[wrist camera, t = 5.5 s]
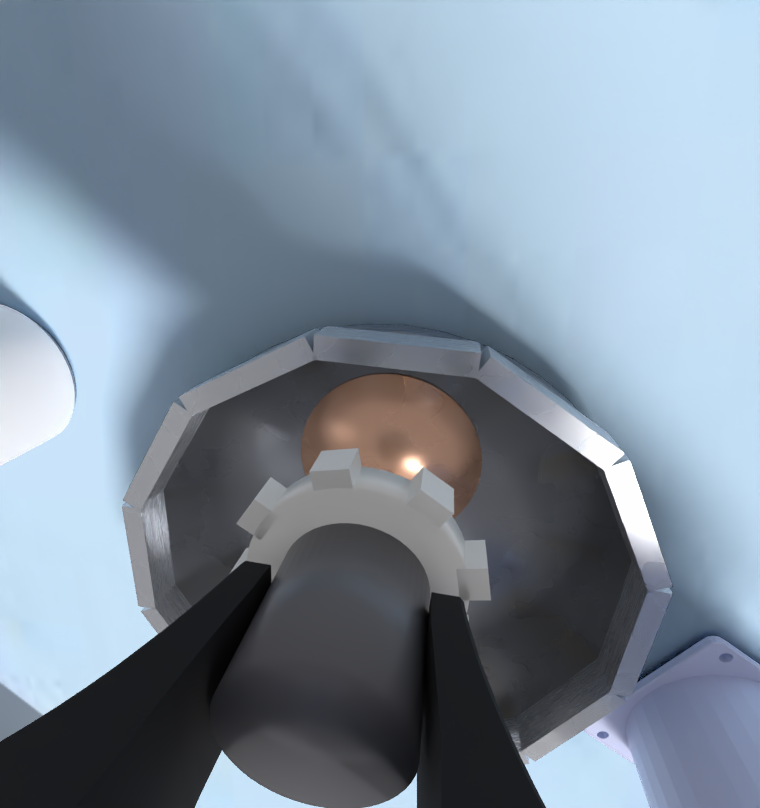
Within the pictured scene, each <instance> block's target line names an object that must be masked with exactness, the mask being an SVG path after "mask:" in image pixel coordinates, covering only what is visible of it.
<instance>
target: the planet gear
mask: <svg viewBox="0 0 760 808" xmlns="http://www.w3.org/2000/svg"><path fill="white" fill-rule="evenodd" d="M309 473H310V474H309V475H307V476H304V477H303V478H301V479H299V480H298V481H296V482H294V483H293V484H292V485H290V486H289V487H288V488H286V487H284V486H283V485H282V484H280V483H279V482H277V481H276V480H274V479H273V478H272V477H270V479H269V480H268V481H267V483H266V484H265V485H264V487H263V488H262V489H261V491H260V492H259V493H258V495H257V496H256V497H255V499H254V500H253V501H252V503H251V504H250V505H249V507H248V508H247V509H246V511H245V512H244V514H243V515H242V516H241V518H240V519H239V520H238V522H237V523H236V524H237V525H239V526H240V527H242V528H243V529H245V530H246V531H248V532H249V533H251V534H252V535H253V537H252V540H251V542H250V546H249V548H246V549H245V551H244V552H243V554H242V555H241V557H240V558H239V560H238V561H237V563H236V564H235V566H234V567H233V569H232V570H231V572H232V571H233V570H235V569H236V568H237V567H238V566H239V565H240V564H242V563H243V562H244V561H251V562H257V563H263V564H268V565H271V585H270V587H269V589H268V591H267V592H266V594H265V596H264V598H263V600H262V602H261V604H260V606H259V608H258V610H257V612H256V614H255V616H254V618H253V619H252V621H251V623H250V625H249V627H248V629H247V631H246V633H245V635H244V637H243V639H242V641H241V643H240V645H239V646H238V648H237V650H236V652H235V654H234V656H233V658H232V660H231V662H230V664H229V666H228V668H227V670H226V672H225V674H224V675H223V677H222V679H221V681H220V683H219V685H218V687H217V689H216V691H215V693H214V695H213V697H212V700H211V705H210V723H211V727H212V730H213V733H214V736H215V738H216V740H217V742H218V744H219V746H220V747H221V749H222V750H223V752H224V753H225V754H226V755H227V757H228V758H229V759H230V760H231V761H232V762H233V763H234V764H235V765H236V766H237V767H238V768H239V769H240V770H241V771H242V772H243V773H245V774H246V775H247V776H248V777H250V778H251V779H253V780H254V781H256V782H257V783H259V784H260V785H262V786H264V787H265V788H267V789H269V790H271V791H273V792H275V793H277V794H279V795H281V796H284V797H287V798H289V799H292V800H295V801H298V802H301V803H305V804H309V805H313V806H318V807H325V808H363V807H369V806H373V805H377V804H380V803H383V802H385V801H388V800H390V799H392V798H394V797H395V796H397V795H399V794H400V793H401V792H402V791H404V790H405V789H406V788H407V787H408V786H409V784H410V783H411V782H412V780H413V779H414V777H415V775H416V773H417V770H418V767H419V760H420V747H421V731H422V716H423V700H424V684H425V667H426V643H427V627H428V613H429V606H430V599H431V593H432V592H434V593H440V594H446V595H452V596H458V597H460V598H461V599H462V600H463V601H464V604H465V609H466V613H467V610H468V605H469V601H476V600H491V594H490V584H489V573H488V563H487V553H486V544H485V540H466V541H464V538H463V535H462V532H461V530H460V528H459V527H458V525H457V523H456V521H455V519H454V518H453V517H452V515H453V514H454V489H453V488H452V487H450V486H449V485H448V484H446V483H445V482H444V481H442V480H441V479H440V478H438V477H437V476H435V475H434V474H433V473H431V472H430V471H429V470H427V469H426V468H424V467H423V468H422V469H421V470H420V471H419V472H418V473H417V474H416V475H415V477H414V478H413V479H412V480H411V481H410V480H408V479H406V478H404V477H402V476H399V475H396V474H394V473H391V472H388V471H384V470H380V469H375V468H369V467H362V465H361V460H360V455H359V449H358V448H352V449H339V450H326V451H321V453H320V454H319V456H318V458H317V459H316V461H315V463H314V464H313V466H312V468H311V469H310V471H309ZM231 572H230V573H231ZM467 618H468V621H469V615H467Z"/></svg>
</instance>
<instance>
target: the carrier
mask: <svg viewBox="0 0 760 808" xmlns="http://www.w3.org/2000/svg"><path fill="white" fill-rule="evenodd" d="M352 448H358V449H359V455H360V460H361V465H362V467H369V468H375V469H380V470H384V471H388V472H391V473H394V474H396V475H399V476H402V477H404V478H406V479H408V480H410V481H411V480H412V479H413V478H414V477H415V475H416V474H417V473H418V472H419V471H420V470H421V469H422V468H423V467H424V468H426V469H427V470H429V471H430V472H431V473H433V474H434V475H435V476H437V477H438V478H440V479H441V480H442V481H444V482H445V483H446V484H448V485H449V486H450V487H452V488H453V489H454V514H453V515H452V517H453V518H454V519H455V521H456V523H457V525H458V527H459V528H460V530H461V532H462V535H463V538H464V541H466V540H485V544H486V553H487V563H488V573H489V584H490V594H491V600H476V601H469V605H468V610H467V613H466V614H467V615H469V625H470V629H471V632H472V635H473V639H474V642H475V645H476V648H477V651H478V654H479V657H480V660H481V663H482V665H483V668H484V671H485V673H486V676H487V679H488V681H489V684H490V686H491V689H492V691H493V694H494V697H495V699H496V702H497V704H498V707H499V709H500V711H501V714H502V716H503V719H504V721H505V723H506V726H507V728H508V730H509V732H510V734H511V737H512V739H513V741H514V743H515V746H516V748H517V750H518V752H519V754H520V757H521V759H522V761H523V763H524V764H528V763H529V759H528V757H529V758H531V759H532V760H534V761H536V760H538V759H540V758H541V757H543V756H544V755H546V754H547V753H549V752H550V751H552V750H553V749H555V748H557V747H558V746H560V745H561V744H563V743H564V742H566V741H567V740H569V739H570V738H572V737H574V736H575V735H577V734H578V733H580V732H581V731H583V730H584V729H586V728H587V727H589V726H591V725H592V724H594V723H595V722H597V721H598V720H600V719H601V718H603V717H604V716H606V715H608V714H609V713H611V712H612V711H614V710H615V709H617V708H618V707H620V706H621V705H623V704H625V703H626V699H625V696H627V697H631V696H632V693H633V691H634V688H635V686H636V683H637V681H638V679H639V676H640V674H641V671H642V669H643V666H644V664H645V661H646V659H647V656H648V654H649V651H650V649H651V646H652V644H653V642H654V639H655V637H656V634H657V632H658V629H659V627H660V624H661V622H662V619H663V617H664V614H665V612H666V609H667V607H668V604H669V602H670V600H671V597H672V595H673V593H672V592H671V590H670V588H669V587H673V585H672V582H671V579H670V576H669V573H668V570H667V567H666V564H665V561H664V559H663V556H662V553H661V550H660V547H659V544H658V541H657V538H656V535H655V532H654V529H653V526H652V524H651V521H650V518H649V515H648V512H647V509H646V506H645V503H644V500H643V497H642V494H641V491H640V488H639V486H638V483H637V480H636V477H635V474H634V471H633V468H632V465H631V462H630V460H629V459H628V457H627V456H626V455H625V454H624V452H623V451H622V450H621V448H620V447H619V446H618V444H617V443H616V442H615V441H614V439H613V438H612V437H611V435H610V434H609V433H608V432H606V431H605V430H604V429H602V428H601V427H599V426H598V425H597V424H595V423H594V422H593V421H591V420H590V419H588V418H587V417H586V416H584V415H583V414H582V413H580V412H579V411H578V410H577V409H576V408H575V407H574V406H573V405H572V403H571V402H570V401H569V400H568V399H567V398H566V397H565V396H563V395H562V394H561V393H560V392H559V391H557V390H556V389H555V388H554V387H553V386H551V385H550V384H549V383H548V382H547V381H546V380H544V379H543V378H542V377H541V376H539V375H538V374H536V373H534V372H533V371H531V370H530V369H528V368H526V367H525V366H523V365H522V364H520V363H518V362H517V361H515V360H514V359H512V358H511V357H508V356H506V355H504V354H502V353H500V352H497V351H495V350H494V349H492V348H491V347H489V346H488V345H487V346H484V345H482V344H480V343H479V342H476V341H472V340H468V339H465V338H462V337H459V336H455V335H452V334H449V333H446V332H442V331H437V330H431V329H425V328H419V327H413V326H407V325H387V324H362V325H352V326H342V327H332V326H325V327H324V328H323V329H321V330H320V331H319V329H318V327H317V328H315V329H313V330H311V331H309V332H307V333H305V334H303V335H300V336H298V337H295V338H293V339H290V340H288V341H285V342H283V343H280V344H278V345H275V346H273V347H271V348H269V349H267V350H265V351H264V352H262V353H260V354H258V355H257V356H255V357H253V358H251V359H250V360H248V361H246V362H244V363H242V364H240V365H238V366H236V367H234V368H231V369H229V370H227V371H225V372H223V373H221V374H219V375H217V376H215V377H213V378H211V379H208V380H206V381H204V382H202V383H200V384H199V385H197V386H195V387H194V388H192V389H190V390H189V391H187V392H185V393H184V394H182V395H180V396H179V398H178V399H177V400H175V401H174V402H173V403H172V405H171V407H170V409H169V411H168V413H167V415H166V417H165V419H164V421H163V423H162V425H161V426H160V428H159V430H158V432H157V434H156V436H155V438H154V440H153V442H152V444H151V446H150V448H149V450H148V452H147V454H146V456H145V458H144V460H143V462H142V463H141V465H140V467H139V469H138V471H137V473H136V475H135V477H134V479H133V481H132V483H131V485H130V487H129V489H128V491H127V493H126V495H125V497H124V499H123V501H125V502H126V503H125V504H124V505H123V506H122V510H123V516H124V522H125V528H126V534H127V540H128V546H129V552H130V558H131V564H132V570H133V576H134V582H135V588H136V594H137V600H138V606H141V607H144V609H143V610H142V611H141V612H142V613H143V615H144V616H145V617H146V619H147V620H148V621H149V622H150V624H151V625H152V626H153V628H154V629H155V630H156V632H157V633H158V634H159V633H160V632H161V631H163V630H164V629H165V628H166V627H168V626H169V625H170V624H171V623H172V622H174V621H175V620H176V619H177V618H179V617H180V616H181V615H182V614H183V613H185V612H186V611H187V610H188V609H189V608H191V607H192V606H193V605H194V604H195V603H197V602H198V601H199V600H200V599H201V598H202V597H204V596H205V595H206V594H207V593H208V592H209V591H211V590H212V589H213V588H214V587H215V586H216V585H217V584H219V583H220V582H221V581H222V580H223V579H224V578H225V577H227V576H228V575H229V574H230V572H231V570H232V569H233V567H234V566H235V564H236V563H237V561H238V560H239V558H240V557H241V555H242V554H243V552H244V551H245V549H246V548H249V546H250V542H251V540H252V537H253V535H252V534H251V533H249V532H248V531H246V530H245V529H243V528H242V527H240V526H239V525H237V524H236V523H237V522H238V520H239V519H240V518H241V516H242V515H243V514H244V512H245V511H246V509H247V508H248V507H249V505H250V504H251V503H252V501H253V500H254V499H255V497H256V496H257V495H258V493H259V492H260V491H261V489H262V488H263V487H264V485H265V484H266V483H267V481H268V480H269V479H270V477H272V478H273V479H274V480H276V481H277V482H279V483H280V484H282V485H283V486H284V487H286V488H288V487H289V486H290V485H292V484H293V483H294V482H296V481H298V480H299V479H301V478H303V477H304V476H307V475H309V474H310V473H309V471H310V469H311V468H312V466H313V464H314V463H315V461H316V459H317V458H318V456H319V454H320V453H321V451H326V450H339V449H352Z"/></svg>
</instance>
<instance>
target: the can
mask: <svg viewBox="0 0 760 808" xmlns="http://www.w3.org/2000/svg"><path fill="white" fill-rule="evenodd" d="M75 399H76V386H75V380H74V376H73V372H72V369H71V367H70V364H69V362H68V360H67V358H66V356H65V354H64V353H63V351H62V349H61V348H60V347H59V345H58V344H57V343H56V341H55V340H54V339H53V338H52V337H51V336H50V334H49V333H48V332H47V331H45V330H44V329H43V328H42V327H41V326H40V325H38V324H37V323H36V322H34V321H33V320H31V319H30V318H28V317H26V316H25V315H23V314H22V313H20V312H18V311H16V310H14V309H12V308H10V307H7V306H5V305H1V304H0V466H1V465H3V464H5V463H7V462H8V461H10V460H12V459H14V458H16V457H18V456H20V455H22V454H24V453H26V452H28V451H29V450H31V449H33V448H35V447H37V446H39V445H41V444H43V443H44V442H46V441H48V440H50V439H52V438H53V437H55V436H56V435H58V434H59V433H60V432H62V431H63V430H64V428H65V427H66V426H67V424H68V423H69V421H70V419H71V417H72V414H73V410H74V405H75Z"/></svg>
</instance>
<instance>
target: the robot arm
mask: <svg viewBox="0 0 760 808" xmlns="http://www.w3.org/2000/svg"><path fill="white" fill-rule="evenodd" d="M270 585H271V565H268V564H263V563H257V562H251V561H244V562H243V563H242V564H240V565H239V566H238V567H237V568H236V569H235V570H233V571H232V572H231V573H230V574H229V575H228V576H227V577H225V578H224V579H223V580H222V581H221V582H220V583H219V584H217V585H216V586H215V587H214V588H213V589H212V590H211V591H209V592H208V593H207V594H206V595H205V596H204V597H202V598H201V599H200V600H199V601H198V602H197V603H195V604H194V605H193V606H192V607H191V608H189V609H188V610H187V611H186V612H185V613H183V614H182V615H181V616H180V617H179V618H177V619H176V620H175V621H174V622H172V623H171V624H170V625H169V626H168V627H166V628H165V629H164V630H163V631H161V632H160V633H159V634H158V635H156V636H155V637H154V638H153V639H151V640H150V641H149V642H147V643H146V644H145V645H143V646H142V647H141V648H139V649H138V650H137V651H135V652H134V653H133V654H132V655H130V656H129V657H128V658H126V659H125V660H124V661H122V662H121V663H120V664H118V665H117V666H116V667H114V668H113V669H111V670H110V671H109V672H107V673H106V674H104V675H103V676H102V677H100V678H99V679H97V680H96V681H95V682H93V683H92V684H90V685H89V686H87V687H86V688H84V689H83V690H81V691H80V692H78V693H77V694H75V695H74V696H72V697H71V698H69V699H68V700H66V701H65V702H64V703H62V704H61V705H59V706H57V707H56V708H54V709H53V710H51V711H50V712H48V713H46V714H45V715H43V716H42V717H40V718H38V719H37V720H35V721H34V722H32V723H31V724H29V725H27V726H25V727H24V728H22V729H21V730H19V731H17V732H16V733H14V734H12V735H11V736H9V737H7V738H6V739H4V740H2V741H1V742H0V808H195V806H196V803H197V801H198V799H199V796H200V794H201V792H202V790H203V788H204V786H205V784H206V782H207V780H208V778H209V776H210V773H211V771H212V769H213V767H214V765H215V763H216V761H217V759H218V757H219V755H220V753H221V751H222V749H221V747H220V746H219V744H218V742H217V740H216V738H215V736H214V733H213V730H212V727H211V723H210V705H211V700H212V697H213V695H214V693H215V691H216V689H217V687H218V685H219V683H220V681H221V679H222V677H223V675H224V674H225V672H226V670H227V668H228V666H229V664H230V662H231V660H232V658H233V656H234V654H235V652H236V650H237V648H238V646H239V645H240V643H241V641H242V639H243V637H244V635H245V633H246V631H247V629H248V627H249V625H250V623H251V621H252V619H253V618H254V616H255V614H256V612H257V610H258V608H259V606H260V604H261V602H262V600H263V598H264V596H265V594H266V592H267V591H268V589H269V587H270ZM625 699H626V703H625V704H623V705H621V706H620V707H618V708H617V709H615V710H614V711H612V712H611V713H609V714H608V715H606V716H604V717H603V718H601V719H600V720H598V721H597V722H595V723H594V724H592V725H591V726H589V727H587V728H586V729H584V731H585V732H586V733H587V734H588V735H590V736H591V737H593V738H595V739H596V740H598V741H599V742H601V743H602V744H604V745H605V746H607V747H608V748H610V749H612V750H613V751H615V752H616V753H618V754H619V755H621V756H622V757H624V758H625V759H627V760H629V761H630V762H632V763H633V764H635V765H636V768H637V771H638V774H639V777H640V780H641V783H642V786H643V788H644V791H645V794H646V797H647V800H648V803H649V806H650V808H760V664H759V663H757V662H756V661H754V660H753V659H751V658H750V657H749V656H747V655H746V654H744V653H743V652H741V651H740V650H738V649H737V648H736V647H734V646H733V645H731V644H730V643H728V642H727V641H726V640H724V639H723V638H721V637H718V636H708V637H706V638H704V639H702V640H701V641H699V642H698V643H696V644H694V645H693V646H691V647H690V648H688V649H687V650H685V651H684V652H682V653H681V654H679V655H678V656H676V657H675V658H673V659H672V660H670V661H669V662H667V663H666V664H664V665H663V666H661V667H660V668H658V669H657V670H655V671H654V672H652V673H651V674H649V675H648V676H646V677H645V678H643V679H642V680H640V681H639V682H637V683H636V686H635V688H634V691H633V693H632V696H631V697H627V696H625ZM417 808H546V807H545V805H544V803H543V801H542V799H541V797H540V795H539V793H538V791H537V790H536V788H535V786H534V784H533V781H532V779H531V777H530V775H529V773H528V771H527V769H526V767H525V765H524V763H523V761H522V759H521V757H520V754H519V752H518V750H517V748H516V746H515V743H514V741H513V739H512V737H511V734H510V732H509V730H508V728H507V726H506V723H505V721H504V719H503V716H502V714H501V711H500V709H499V707H498V704H497V702H496V699H495V697H494V694H493V691H492V689H491V686H490V684H489V681H488V679H487V676H486V673H485V671H484V668H483V665H482V663H481V660H480V657H479V654H478V651H477V648H476V645H475V642H474V639H473V635H472V632H471V629H470V625H469V621H468V618H467V614H466V609H465V604H464V601H463V600H462V599H461V598H460V597H458V596H452V595H446V594H440V593H434V592H432V593H431V599H430V606H429V613H428V627H427V643H426V667H425V684H424V700H423V716H422V731H421V747H420V760H419V767H418V770H417Z"/></svg>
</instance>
